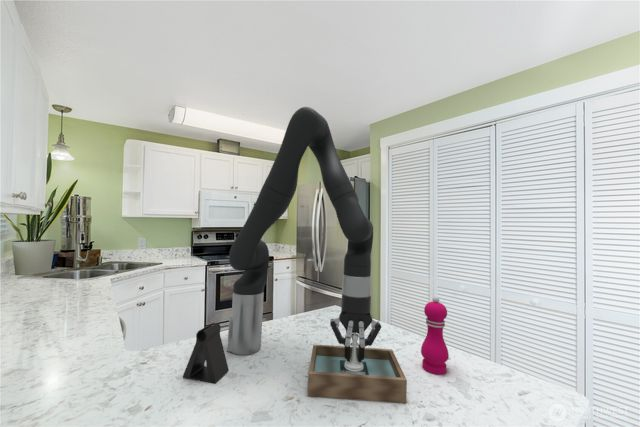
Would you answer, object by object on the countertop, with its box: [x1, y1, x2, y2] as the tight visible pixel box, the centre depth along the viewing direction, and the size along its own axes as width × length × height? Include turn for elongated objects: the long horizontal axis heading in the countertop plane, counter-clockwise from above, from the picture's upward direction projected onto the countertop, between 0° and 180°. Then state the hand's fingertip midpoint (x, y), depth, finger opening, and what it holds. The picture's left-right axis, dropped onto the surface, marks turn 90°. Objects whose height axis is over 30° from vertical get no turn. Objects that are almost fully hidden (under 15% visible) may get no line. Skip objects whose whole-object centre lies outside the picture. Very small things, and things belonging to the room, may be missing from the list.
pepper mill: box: [420, 295, 450, 375], centre depth 80 cm, size 7×7×20 cm
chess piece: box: [344, 333, 364, 372], centre depth 74 cm, size 5×5×10 cm
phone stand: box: [182, 322, 230, 384], centre depth 72 cm, size 9×6×12 cm, turn 78°
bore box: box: [306, 344, 408, 404], centre depth 72 cm, size 22×16×5 cm
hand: (354, 360), depth 73 cm, fingers closed on chess piece, 2 cm apart
